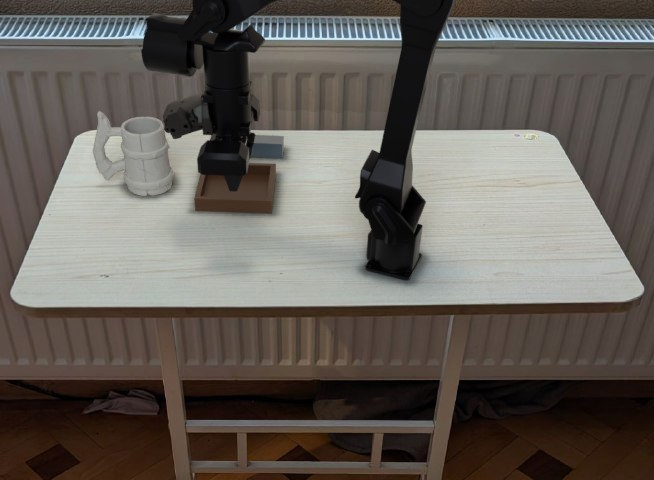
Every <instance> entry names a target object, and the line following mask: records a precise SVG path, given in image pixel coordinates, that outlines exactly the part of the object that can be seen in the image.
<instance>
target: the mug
mask: <svg viewBox="0 0 654 480" xmlns="http://www.w3.org/2000/svg"><path fill="white" fill-rule="evenodd" d="M96 117H97V126H96V131H95V132H96V133H95V136H94V142H93V148H92V155H93V158H94V161H95V166H96V169H97V171H98V172H99V174H101V175H102V177H103V178H104V180H106V181H110V180H111V179H112V178H113V176H114V175H116V174H117V173H120V172H123V180H124V182H125V184H126V187H127V190H128V191H129V192H130V193H133V194H134V195H137V196H140V197H141V196H142V197H147V196H157V195H161V194H165V193H166V192H167V191H169V190H171V189H172V186H173V180H174V176H175V173H174V170H173V168H172V166H171V165H170V158H169V149H170V144H169V141H168V139H167V137H166V132H165V130H164V128H165V124H164V122H162V120H161V119H158V118H156V117H153V116H136V117H132V118H129V119H126V120H125V121H123V122H122V123H121V126H112V124H111V122H110V120H109V118H108V117H107V115H105V113H104V112H102V111H100V110H98V111H97V115H96ZM110 137H121V143H120V149H121V152H122V154H123V157H124V158H121V159H118V160H115V161H112V160H111V159H110V158H109V157H107V154H106V148H105V146H106V144H107V143H108V140H109V139H110Z"/></svg>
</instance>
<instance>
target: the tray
mask: <svg viewBox="0 0 654 480" xmlns="http://www.w3.org/2000/svg"><path fill="white" fill-rule="evenodd" d="M199 174H200V173H199ZM276 180H277V163H269V162H268V163H264V162H263V163H262V162H249V166H248V171H247V174H246V175H244V176H243V177H242V180H241V183H240V185H239V188H238V190H237V192H231V191H229V188H228V186H227V183H226V180H225V177H224V176H221V175H202V174H200V175H199V178H198V182H197V186H196V191H195V195H194V199H193V200H194V210H195V212H218V213H219V212H223V213H224V212H225V213H252V214H254V213H255V214H272V213H273V207H274V206H273V205H274V198H275V190H276V189H275V188H276Z"/></svg>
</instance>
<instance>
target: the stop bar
mask: <svg viewBox="0 0 654 480" xmlns="http://www.w3.org/2000/svg"><path fill="white" fill-rule="evenodd" d="M284 139H285V136H284V135H267V134H266V135H265V134H255V140H254V144H253V147H252V148H253V149H252V154H251V158H271V159H272V158H273V159H276V158H277V159H283V158H284V150H285V143H284V142H285V141H284Z"/></svg>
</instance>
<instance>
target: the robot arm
mask: <svg viewBox="0 0 654 480" xmlns="http://www.w3.org/2000/svg"><path fill="white" fill-rule="evenodd" d="M278 1H280V0H192V10H191V12H190V13H189V14H188V16H187V18H181V17H174V16H168V15H165V14H164V13H156V12H153V13H152V14H150V15H149V16H148V17H147V18H146V19H145V21H146V22H145V23H146V29H145V31H144V34H143V35H144V36H143V39H142V48H141V50H140V52H141V59H142V63H143V66H144V67H145V69H146V70H147V71H149V72H155V73H156V72H157V73H163V74H168V75H176V76H177V75H178V76H183V77H193V76H194V75H195V74H196V72H197V70H201V69H202V67H203V70H204V71H203V75H204V91H203V92H202V93H195V94H192V95H189V96H186V97H182V98H180V99H176V100H174V101H172V102H170V103H168V104H167V105H166V107H165V109H164V112H163V114H162V119H163V122H162V123H163V125H164V130H165V134H166V133H167V134H169V135H170V136H171V138H172V139H174V140H178V139H182V137H183V136H186V135H189V134H192V133H196V132H198V131H201V130H202V136H210V137H209V139H207V140H206V141H205V142H204V143H203V144H201V146H200V147H199V151H198V155H197V157H196V164H197V173H198V174H202V175H221V176H224V177H225V180H226V183H227V186H228V188H229V191H231V192H237V190H238V188H239V185H240V183H241V180H242V177H243V176H244V175H246V174H247V171H248V166H249V163H250V160H251V158H252V157H251V154H252V149H253V148H252V147H253V144H254V140H255V135H256V132H251V129H252V127H253V122H259V120H260V115H261V107H260V106H261V101H260V99H259V98H258V97H256V95H254V94H253V93H252V92H253V81H252V80H251V74H250V73H251V72H250V71H251V70H250V53H253V54H255V53H256V52H258V50H259V49H261V47H262V46H263V45H264V44H265V43H266V38H265V37H264V36H263V35H262V34H261V33H260V32H258V31H257V30H256V29H255V27H254V25H252V24H249V25H247V26H246V27H245V29H244V30H240V29H233V28H235V27H237V26H238V25H240V24H242V23H243V22H245V21H247V20H248V19H249V18H251V17H252V16H254V15H255V14H257V13H259V12H260V11H261V10H262V9H264V8H266V7H267V6H269V5H270V4H273V3H275V2H278ZM392 1H393V2H395V3H396V4H398V5H400V7H399V10H400V11H399V28H400V36H401V37H400V38H401V49H400V53H399V58H398V62H397V68H396V72H395V77H394V82H393V86H392V92H391V95H390V99H389V100H390V101H389V106H388V110H387V114H386V119H385V125H384V129H383V134H382V138H381V144H380V149H379V152H378V151H376V150H374V149H371V150H370V152H369V154H368V155H367V158H366V159H365V162H364V163H363V165H362V167H361V169H360V173H359V188H358V190H357V192H356V193H355V195H354V199H356V200H357V199H359V200H358V210H359V212H360V213H361V214H362V216H364V218H365V219H366V220H367V221H368V223H369V227H370V230H369V232H368V234H367V241H366V253H365V254H366V255H365V258H366V259H367V260H368V261H367V263H366V264H365V266H364V269H365V271H368V272H372V273H376V274H380V275H383V276H387V277H391V278H395V279H399V280H403V281H410V279H411V278H412V276H413V274H414V272H415V270H416V269H417V267H418V266H419V264H420V262H421V260H422V257H423V254H421V253H420V251H421V250H420V249H421V242H422V241H421V240H422V233H423V224H421V223H419V222H420V220H421V217H422V214H423V212H424V209H425V206H426V203H427V201H426V199H424V198H423V196H422V195H421V193H419V192H418V190H417V189H416V188H415V187H414V185H413V174H414V173H413V170H414V165H413V154H412V153H413V151H412V149H413V144H414V140H415V137H416V132H417V129H418V124H419V120H420V115H421V111H422V107H423V103H424V100H425V99H424V98H425V94H426V91H427V87H428V83H429V77H430V74H431V69H432V66H433V62H434V58H435V53H436V49H437V44H438V42H439V39H440V37H441V35H442V33H443V31H444V29H445V27H446V24H447V21H448V20H449V17H450V15H451V13H452V10H453V8H454V6H455V4H456V1H457V0H392Z"/></svg>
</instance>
